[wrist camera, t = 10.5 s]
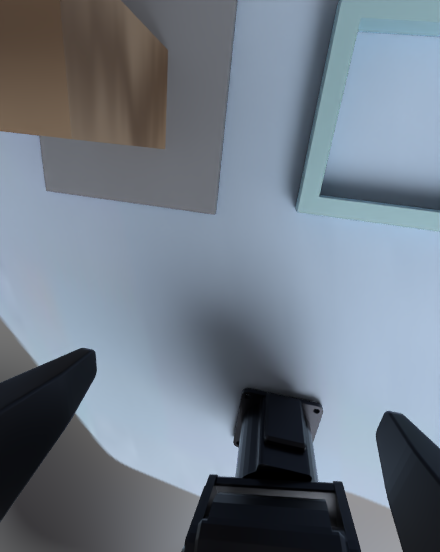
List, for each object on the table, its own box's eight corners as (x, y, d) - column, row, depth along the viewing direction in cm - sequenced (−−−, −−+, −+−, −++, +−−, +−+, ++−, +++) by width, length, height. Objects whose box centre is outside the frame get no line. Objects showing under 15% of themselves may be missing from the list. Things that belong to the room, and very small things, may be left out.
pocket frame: (467, 231, 17) (484, 237, 16) (295, 208, 18) (297, 212, 17) (563, 16, 13) (597, -1, 12) (337, 4, 14) (344, -13, 13)
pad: (215, 213, 19) (214, 214, 19) (50, 190, 20) (46, 190, 20) (239, -27, 14) (239, -32, 14) (23, -36, 16) (17, -41, 15)
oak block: (165, 149, 18) (71, 139, 9) (89, 140, 18) (-61, 124, 10) (168, 50, 16) (53, -72, 8) (83, 44, 16) (-109, -75, 8)
